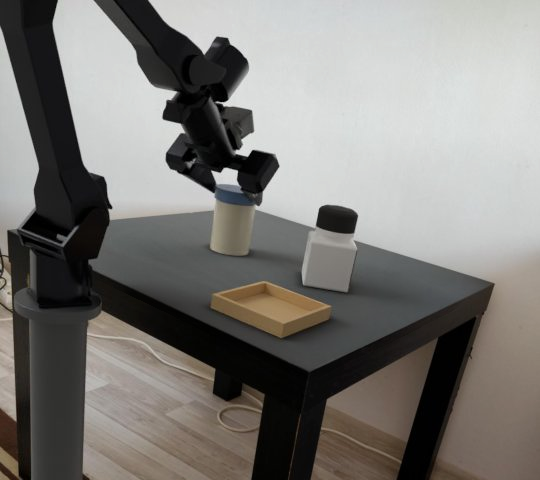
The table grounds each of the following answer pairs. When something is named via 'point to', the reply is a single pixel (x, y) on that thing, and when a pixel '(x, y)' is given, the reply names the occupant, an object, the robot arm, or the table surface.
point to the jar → (232, 228)
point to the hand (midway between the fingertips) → (237, 197)
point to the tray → (271, 308)
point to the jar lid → (231, 194)
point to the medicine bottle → (331, 249)
